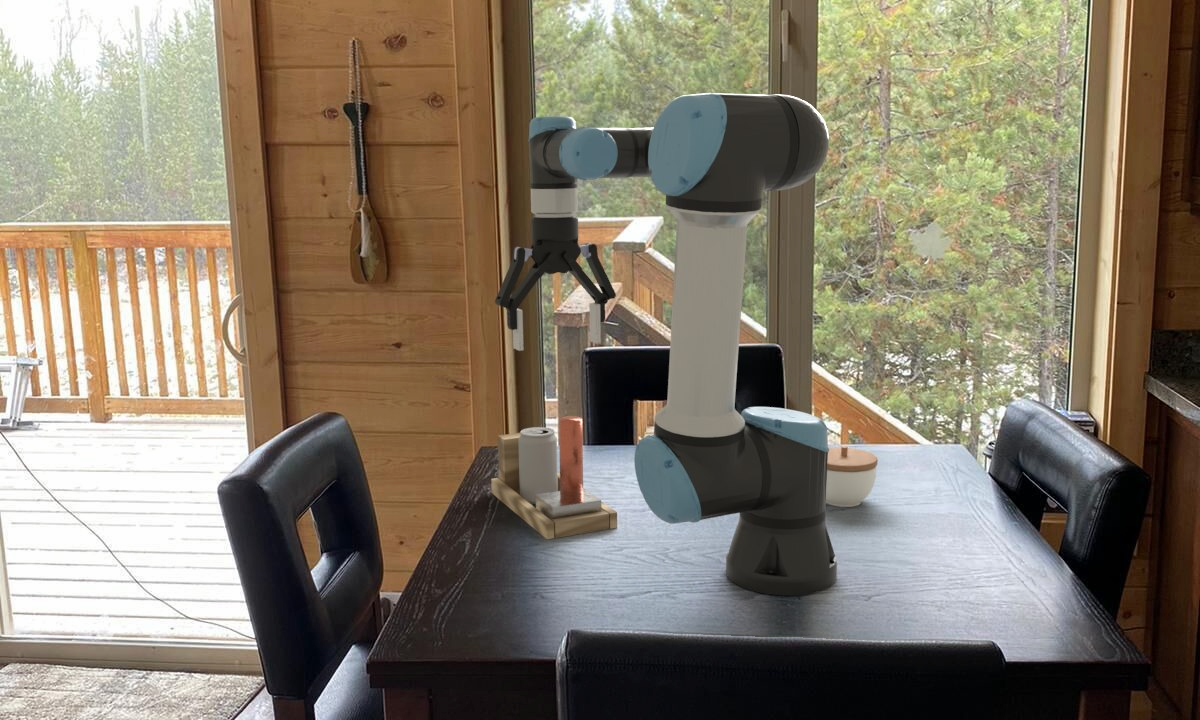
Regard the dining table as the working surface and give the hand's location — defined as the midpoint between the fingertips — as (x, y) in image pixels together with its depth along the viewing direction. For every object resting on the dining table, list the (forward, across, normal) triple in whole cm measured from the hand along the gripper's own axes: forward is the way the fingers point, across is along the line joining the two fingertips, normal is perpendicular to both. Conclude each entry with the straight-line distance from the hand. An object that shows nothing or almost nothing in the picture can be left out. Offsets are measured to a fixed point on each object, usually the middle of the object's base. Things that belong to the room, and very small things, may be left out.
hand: (557, 345), depth 183 cm
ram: (+26, +3, +12) cm, 29 cm away
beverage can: (+26, +4, -1) cm, 27 cm away
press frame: (+26, +4, +4) cm, 27 cm away
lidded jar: (+27, -42, +22) cm, 54 cm away
